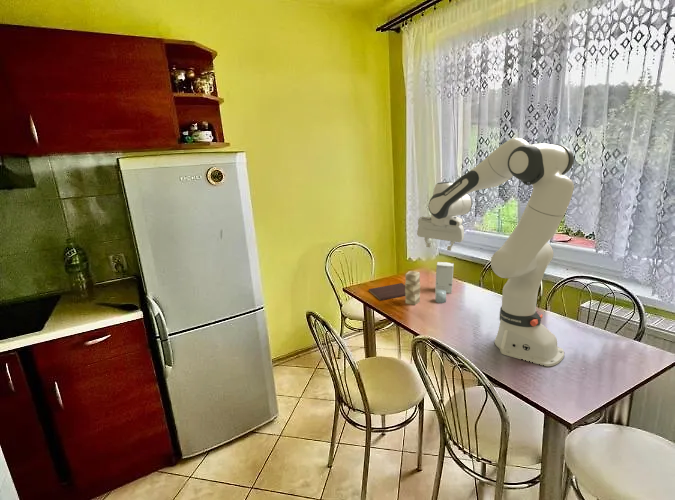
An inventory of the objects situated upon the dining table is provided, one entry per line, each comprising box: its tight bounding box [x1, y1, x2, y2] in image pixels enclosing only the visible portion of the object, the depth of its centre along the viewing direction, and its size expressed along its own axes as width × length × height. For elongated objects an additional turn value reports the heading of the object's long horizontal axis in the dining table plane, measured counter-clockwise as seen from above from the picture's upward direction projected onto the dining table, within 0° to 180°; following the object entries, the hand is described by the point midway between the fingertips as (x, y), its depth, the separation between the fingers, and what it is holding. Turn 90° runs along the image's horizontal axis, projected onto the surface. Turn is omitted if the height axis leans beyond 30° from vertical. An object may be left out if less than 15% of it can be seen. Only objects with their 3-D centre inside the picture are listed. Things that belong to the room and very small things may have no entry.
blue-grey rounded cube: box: [434, 290, 447, 304], centre depth 178 cm, size 5×5×5 cm
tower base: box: [404, 292, 421, 306], centre depth 178 cm, size 5×5×5 cm
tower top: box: [405, 270, 421, 286], centre depth 175 cm, size 5×5×5 cm
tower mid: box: [404, 282, 421, 296], centre depth 177 cm, size 5×5×5 cm
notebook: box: [368, 282, 406, 302], centre depth 192 cm, size 15×20×2 cm
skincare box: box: [434, 261, 455, 294], centre depth 188 cm, size 8×6×15 cm
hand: (438, 248), depth 167 cm, fingers open, 8 cm apart
